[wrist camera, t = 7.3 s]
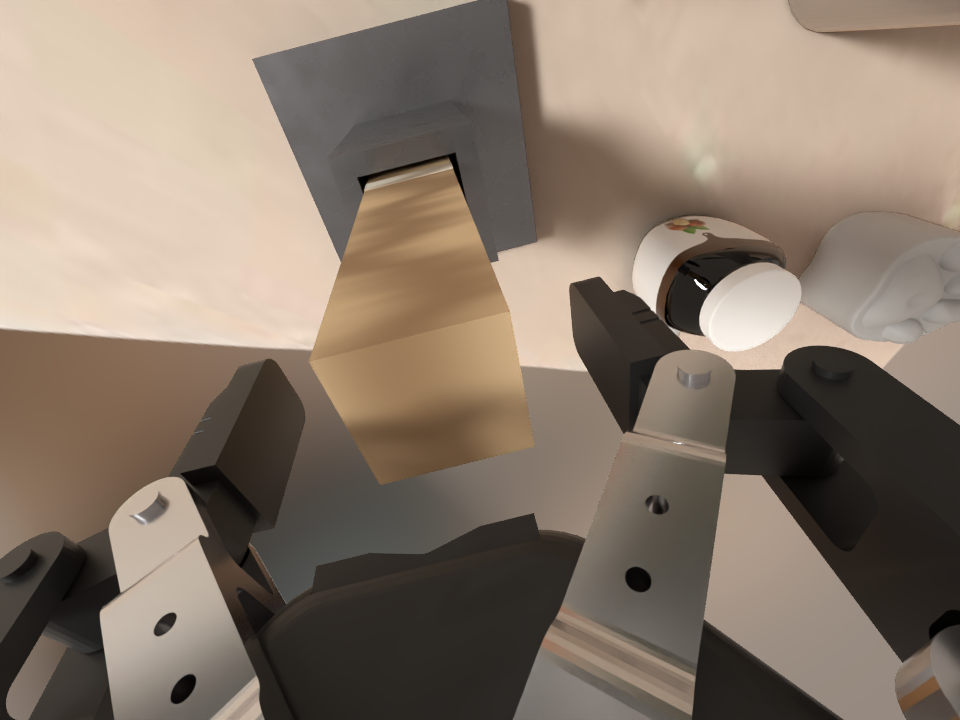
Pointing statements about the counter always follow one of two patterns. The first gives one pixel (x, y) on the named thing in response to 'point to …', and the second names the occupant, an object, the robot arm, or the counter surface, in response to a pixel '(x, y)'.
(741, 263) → the spread jar
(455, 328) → the oak post
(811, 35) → the counter surface
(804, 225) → the counter surface
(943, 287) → the lumpy-topped squat cylinder
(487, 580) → the robot arm
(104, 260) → the counter surface
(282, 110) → the metal sleeve stand
